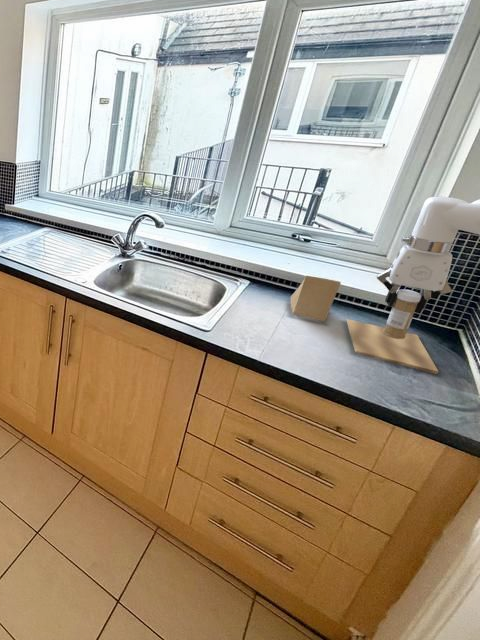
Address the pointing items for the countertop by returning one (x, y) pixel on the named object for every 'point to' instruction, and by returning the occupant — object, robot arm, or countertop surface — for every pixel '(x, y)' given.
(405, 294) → the sprinkles bottle
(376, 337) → the chopping board
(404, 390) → the countertop surface
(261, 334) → the countertop surface
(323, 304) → the sandwich container
